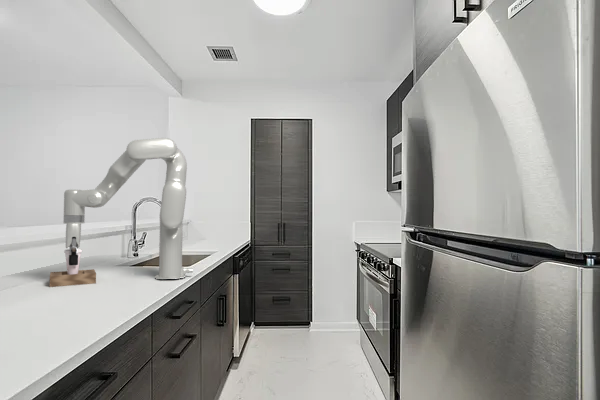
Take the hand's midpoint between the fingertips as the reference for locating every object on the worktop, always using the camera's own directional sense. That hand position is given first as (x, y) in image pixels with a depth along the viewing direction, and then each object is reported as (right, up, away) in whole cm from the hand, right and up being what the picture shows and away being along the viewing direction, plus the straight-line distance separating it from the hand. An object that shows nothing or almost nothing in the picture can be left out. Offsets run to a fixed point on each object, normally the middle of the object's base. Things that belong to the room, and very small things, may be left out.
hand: (73, 263), depth 166 cm
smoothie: (0, -4, 0) cm, 4 cm away
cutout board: (0, -8, 0) cm, 8 cm away
